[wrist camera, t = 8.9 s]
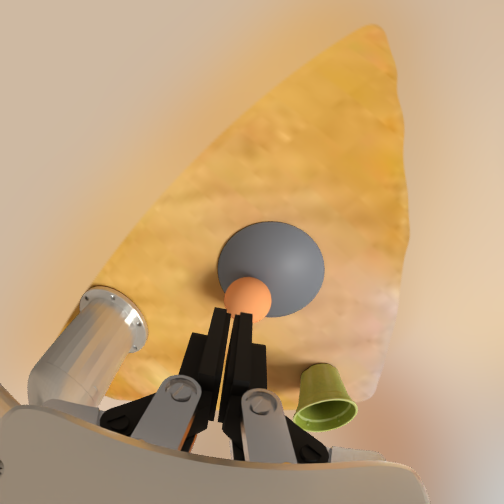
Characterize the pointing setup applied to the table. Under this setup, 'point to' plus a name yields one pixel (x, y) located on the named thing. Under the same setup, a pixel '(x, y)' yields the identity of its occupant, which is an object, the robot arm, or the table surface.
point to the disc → (275, 264)
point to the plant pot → (323, 400)
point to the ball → (248, 298)
